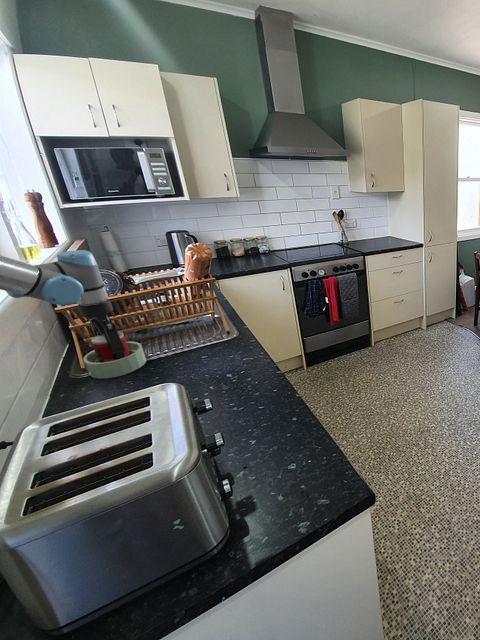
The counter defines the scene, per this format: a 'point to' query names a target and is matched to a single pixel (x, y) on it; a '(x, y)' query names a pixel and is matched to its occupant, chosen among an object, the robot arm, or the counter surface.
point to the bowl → (116, 363)
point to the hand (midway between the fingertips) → (118, 365)
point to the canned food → (107, 348)
